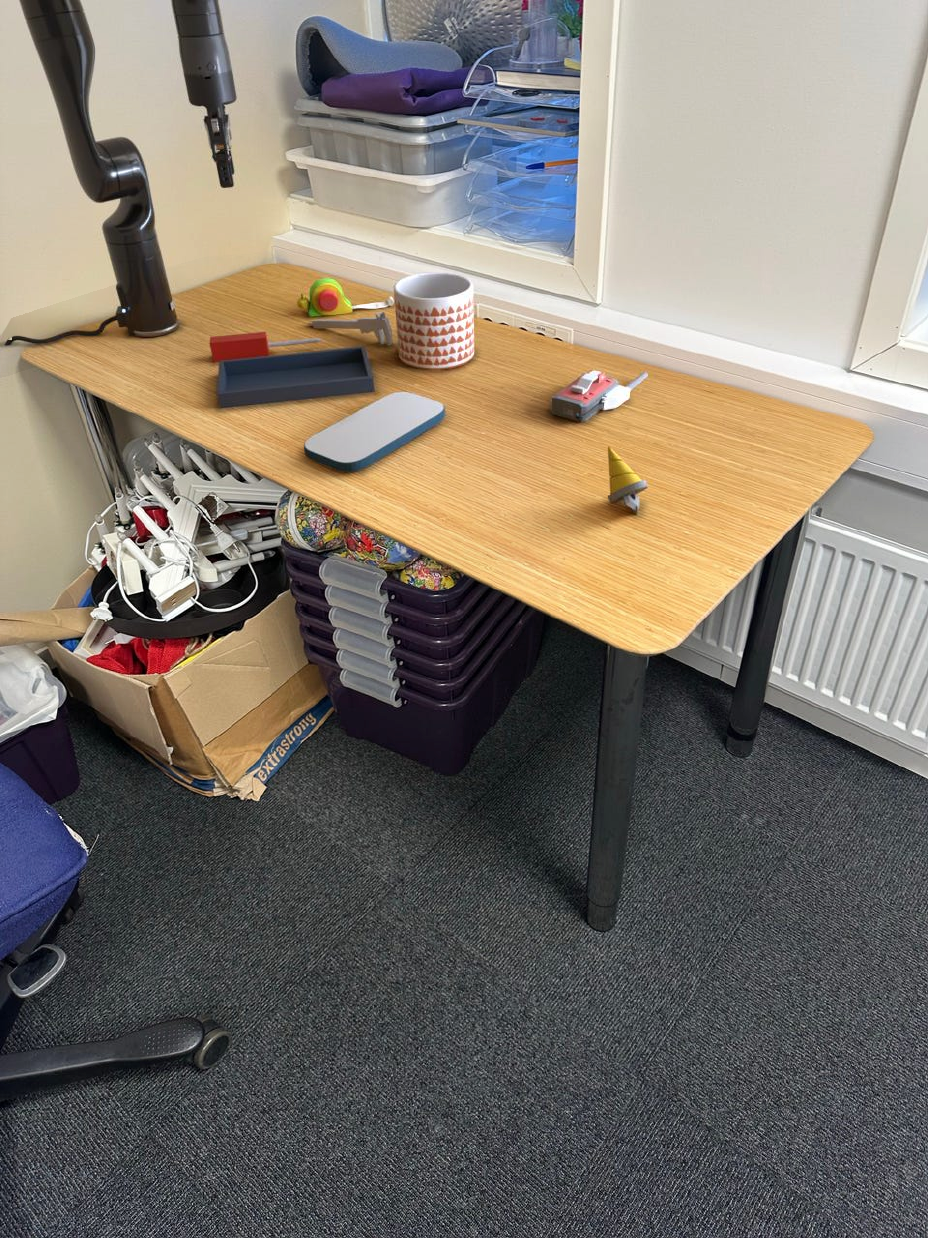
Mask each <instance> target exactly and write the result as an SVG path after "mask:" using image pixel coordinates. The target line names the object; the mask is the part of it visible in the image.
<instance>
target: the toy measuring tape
mask: <svg viewBox="0 0 928 1238" xmlns="http://www.w3.org/2000/svg"><path fill="white" fill-rule="evenodd" d="M385 300H386V301H379V302H371V303H364V304H363V303H362V304H357V305H352V303H351V301H350V300H349V299H348V298H346V296H345V293H344V291H343V289H342V286H341V285H340V284H339V282H338V281H336V279H333V278H331V277H321V278H319V279H316V280H315V281H314V282H313V283H312V285H311V286H310V289H309V298H308V297H306V294H305V292H301V294H300V297H298V298H297V300H296V303H297V305H296V306H298V308H299V309H300V310H303V311H304V310H307V314H308V316H309V317H312V318H313V317H321V316H337V315H345V314H352V313H353V310H355V309H366V310H367V309H370V310H376V309H382V308H388V307H389V306H390V307H393V306H395V299H394V297H392V295H391V296H390V295H389V296H387V298H386V299H385Z"/></svg>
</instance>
